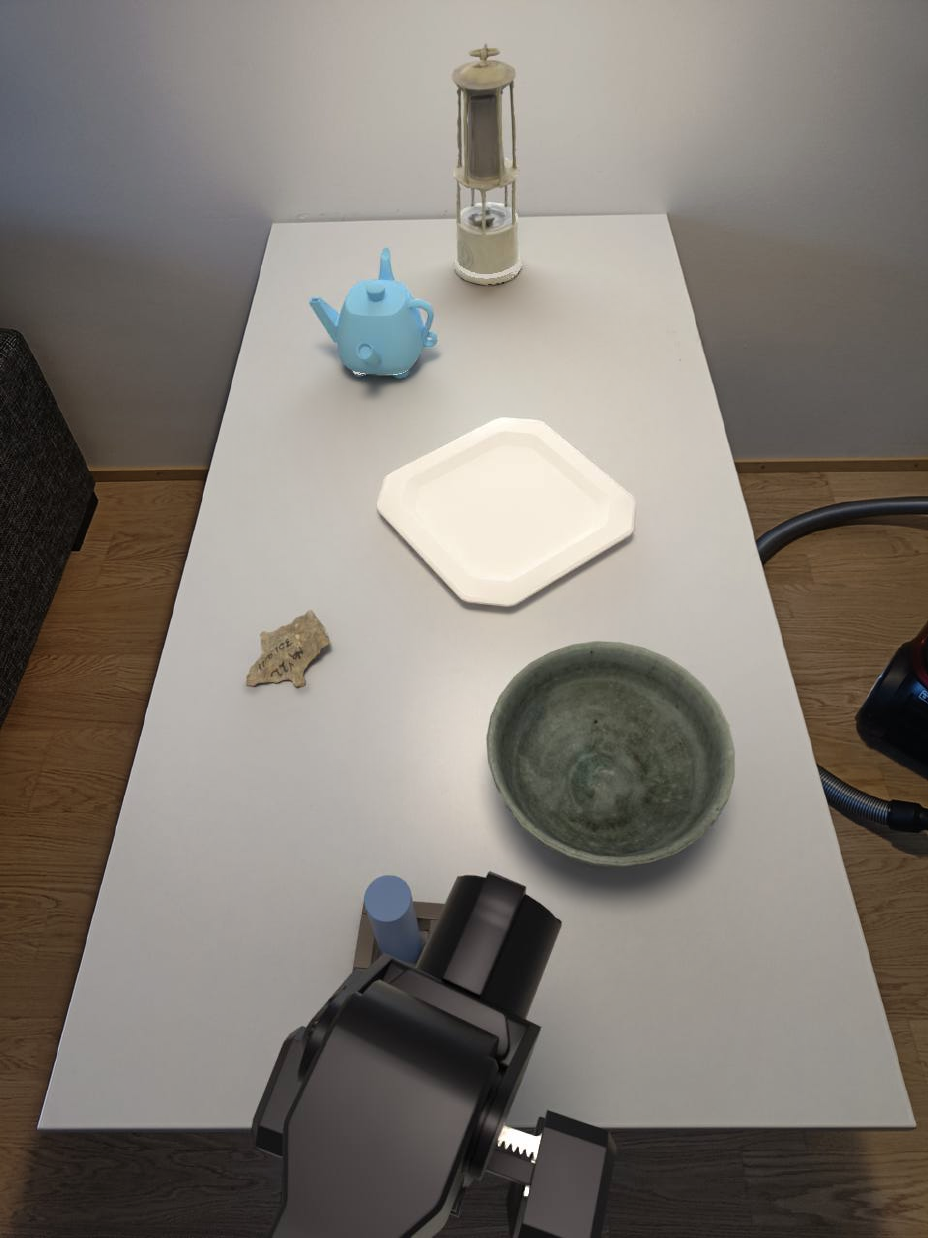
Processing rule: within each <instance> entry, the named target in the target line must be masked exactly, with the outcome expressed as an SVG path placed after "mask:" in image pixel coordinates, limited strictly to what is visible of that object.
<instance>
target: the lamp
mask: <svg viewBox="0 0 928 1238" xmlns="http://www.w3.org/2000/svg"><path fill="white" fill-rule="evenodd" d="M500 54H501V50H500V49H499V48H497V47H488V43H486V42H485V43H484V45H483V47H482V48H478V49H474V50H469V51H468V55H469V57H474V58H479V60H474V61H469V62H466V63H463V64H461V65H458V66H457V67H455V68H454V69H453V71H452V73H451V80H452V82H453V83H454V84H455V86H456V87H457V89H456V94H457V106H458V108H457V109H458V110H457V114H458V115H457V119H456V125H457V134H456V135H457V136H456V141H457V149H458V153H457V157H458V159H457V164H456V165H455V167H454V169H453V177H454V179H455V181H456V203H455V204H456V258H455V261H454V267H453V268H454V272H455V273H456V274H457V276H458V277H459V278H461V279H462V280H464V281H465V282H469V283H472V284H476V285H482V286H489V285H488V284H492V285H491V286H493V285H496V284H495V283H499V284H503V283H502V282H504V283H507V282H509V281H511V280H513V279H514V278H515V277H517V276H518V275H519V274H511V273H513V272H511V273H509V274H507V275H504V276H501V277H497V278H489V279H484V278H475V277H471V276H468V275H466V274H465V273H463V272H462V271H461V270H459V268H458V267H457V265H456V260H457V261H458V263H459V265H460V266H462V267H463V268H465V269H467V270H469V271H471V272H475V273H477V274H478V273H479V274H493V273H498V272H502V271H504V270H506V269H509V268H510V267H512V266H514V265H515V264H516V263H517V262H518V258H519V259H520V262H519V265H518V267H521V266H522V267H523V263H522V259H521V257H520V253H519V252H520V251H519V249H520V248H519V245H520V243H519V215H518V212H517V211H516V210H517V209H516V203H517V202H516V201H517V200H516V181H517V178H518V176H519V175H520V169H519V166H518V164H517V156H516V151H517V149H516V145H517V144H516V142H517V129H516V114H515V106H514V88H515V81H514V80H515V78H516V75H517V73H516V69H515V67H514V66H513V65H511V64H509V63H507V62H505V61H500V60H497V59H494V60H493V59H488V58H490V57H496V56H498V55H500ZM522 84H523V85H524V82H522ZM507 87H509V98H510V118H511V144H512V145H511V146H512V147H511V148H512V149H511V150H512V153H511V154H512V159H511V158H510V159H509V158H507V157H505V155H504V145H503V143H504V142H503V101H502V100H503V94H504V90H505V89H506V88H507ZM462 97H463V98H462ZM462 99H463V119H462ZM462 120H463V121H462ZM462 123H463V124H462ZM462 125H463V139H462ZM462 140H463V141H462ZM462 155H463V157H462ZM463 158H464V160H462V159H463ZM461 185H462V186H464V187H465V188H467V189H470V202H471V203H470V205H468V206H466V207H465V208H463V209H462V210H461V190H462V188H461V187H462V186H461ZM509 185H511V206H509ZM460 186H461V187H460ZM497 188H499V189H501V188H504V203H501V202H495V201H487V199H486V198H487V194H486V193H487V192H488V191H492V190H494V189H497ZM475 190H477V191H479V192H480V196H481V202H477V203H475V193H476V192H475ZM517 269H518V268H517ZM521 271H522V269H521V270H520V272H521ZM515 272H518V271H515ZM512 276H515V277H512ZM508 277H509V278H508ZM510 278H512V279H510Z"/></svg>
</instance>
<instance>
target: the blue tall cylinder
mask: <svg viewBox="0 0 928 1238" xmlns="http://www.w3.org/2000/svg"><path fill="white" fill-rule="evenodd" d="M413 901H414V900H413V895H412V890H411V888H410V886H409V884H408V883H407V882H406V881H405V880H404V879H402V878H401V877H399V876H397V875H392V874H387V875H382V876H379V877H377V878H375V879H373V881H371V882H370V884H369V885H368V886H367V887H366V890H365V892H364V896H363V903H364V905H365V908H366V911H367V914H368V917H369V920H370V923H371V926H372V929H373V932H374V935H375V938H376V941H377V944H378V946H379V952H380V956H381V955H382V954H384V953H385V954H388V955H390V956H392V957H394V958H396V959H398V960H402V961H405V962H409V963H412V964H415V965H416V964H417V962H418V960H419V958H420V956H421V953H422V951H423V949H424V946H423V942H422V938H421V934H420V930H419V928H418V923H417V918H416V914H415V909H414V904H413Z"/></svg>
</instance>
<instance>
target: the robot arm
mask: <svg viewBox="0 0 928 1238" xmlns="http://www.w3.org/2000/svg"><path fill="white" fill-rule="evenodd" d="M443 904H444V906H443V908H442V911H441V913H440V915H439V917H438V919H437V921H436V923H435V926H434V928H433V930H432V932H431V934H430V936H429V938H428V937H427V940H426V943H425V944H424V946H423V951H422V953H421V956H420V958H419V960H418V962H417V964H416V965H415V964H412V963H409V962H405V961H402V960H398V959H396V958H394V957H392V956H390V955H388V954H385V953H384V954H382V955H381V954H380V956H378V957H377V960H376V961H375V962H374V963H373V964H371V965H370V966H369V967H368V968H367V969H366V970H365V971H362V970H359V969H357V968H355V970H354V971H353V970H352V971H353V972H352V971H351V973H350V974H349V975H348V976H347V978H345V980H344V981H343V982H342V983H341V985H340V986H339V987H338V988H337V989H336V990H335V991H334V993H332V994H331V996H330V997H329V998H328V1000H327V1001H326V1002H325V1003H324V1004H323V1005H322V1006H321V1008H320V1009H319V1010H318V1011H317V1012H316V1013H315V1015H313V1017H311V1020H310V1021H309V1022H308V1024H307V1025H306V1026H305V1025H301V1026H299V1027H297V1028H296V1029H295V1030H293V1031H291V1032H290V1033H289V1034H288V1035H287V1037H286V1038H285V1039H284V1041H283V1042H282V1045H281V1047H280V1050H279V1052H278V1055H277V1057H276V1060H275V1062H274V1066H273V1068H272V1070H271V1072H270V1075H269V1077H268V1080H267V1082H266V1084H265V1087H264V1090H263V1092H262V1095H261V1098H260V1100H259V1103H258V1105H257V1108H256V1110H255V1113H254V1115H253V1118H252V1122H251V1128H250V1134H251V1135H250V1136H251V1139H252V1142H253V1146H254V1147H255V1148H256V1149H258V1150H260V1151H261V1152H264V1153H266V1154H269V1155H272V1156H275V1157H278V1158H280V1159H282V1174H281V1175H282V1186H281V1189H282V1191H281V1193H282V1194H281V1199H282V1200H281V1203H280V1205H279V1207H278V1210H277V1212H276V1214H275V1216H274V1218H273V1220H272V1223H271V1225H270V1227H269V1229H268V1232H267V1234H266V1236H265V1238H433V1237H434V1236H435V1235H437V1234H438V1233H439V1232H440V1231H441V1230H443V1228H444V1227H445V1225H446V1223H447V1222H448V1219H449V1217H450V1215H451V1216H454V1217H456V1218H460V1214H461V1210H462V1207H463V1203H464V1199H465V1195H466V1193H467V1188H468V1187H469V1186H470V1185H471V1184H472V1183H473V1181H474V1180H476V1181H479V1182H481V1181H482V1179H483V1177H484V1176H485V1172H486V1173H489V1174H491V1175H494V1176H497V1177H500V1178H503V1179H505V1180H509V1181H510V1182H509V1187H508V1191H507V1194H506V1199H505V1206H506V1214H507V1223H508V1233H509V1238H602V1236H603V1230H604V1225H605V1219H606V1214H607V1210H608V1209H607V1208H608V1203H609V1199H610V1192H611V1186H612V1180H613V1175H614V1171H615V1163H616V1158H617V1145H616V1142H615V1140H614V1139H613V1136H612V1134H611V1132H610V1130H608V1129H605V1128H602V1127H599V1126H596V1125H593V1124H590V1123H588V1122H585V1121H582V1120H578V1119H576V1118H572V1117H571V1116H570V1117H569V1116H567V1115H563V1114H560V1113H558V1112H554V1111H552V1110H549V1109H546V1112H545V1116H544V1117H543V1116H541V1115H540V1116H539V1117H538V1119H537V1122H536V1124H535V1127H534V1130H533V1133H532V1134H531V1133H527V1132H525V1131H521V1130H519V1129H516V1128H513V1127H510V1126H507V1125H505V1124H506V1122H507V1119H508V1116H509V1114H510V1112H511V1109H512V1106H513V1104H514V1102H515V1099H516V1096H517V1094H518V1091H519V1089H520V1087H521V1084H522V1081H523V1079H524V1076H525V1074H526V1071H527V1068H528V1066H529V1063H530V1060H531V1057H532V1054H533V1052H534V1049H535V1047H536V1044H537V1041H538V1040H539V1039H538V1038H539V1036H540V1033H541V1030H542V1026H541V1025H539V1024H537V1023H534V1022H532V1021H530V1020H528V1019H527V1017H528V1015H529V1012H530V1010H531V1007H532V1004H533V1002H534V999H535V996H536V994H537V992H538V989H539V986H540V983H541V981H542V978H543V976H544V973H545V971H546V968H547V965H548V963H549V960H550V957H551V955H552V953H553V950H554V947H555V944H556V941H557V939H558V937H559V933H560V931H561V929H562V926H563V921H562V920H561V919H560V918H558V917H556V915H554V913H552V912H551V910H550V909H548V908H547V907H545V906H544V905H543V904H542V903H541V902H539V901H538V900H536V899H534V898H533V897H532V896H530V895H529V894H527V885H524V884H521V883H519V882H517V881H515V880H512V879H509V878H507V877H506V876H502V875H500V874H498V873H495V872H493V871H488V872H487V874H486V875H485V876H480V875H476V874H475V875H474V874H464V875H457V877H456V878H455V881H454V883H453V885H452V887H451V890H450V891H449V894H448V896H447V898H446V899H445V902H444V903H443ZM503 1143H504V1150H506V1151H507V1150H508V1149H509V1147H510V1146H511V1152H512V1153H515V1152H516V1151H517V1148H518V1153H519V1155H520V1156H521V1157H519V1156H516V1155H513V1154H510V1153H507V1152H505V1151H501V1150H499V1149H496V1146H497V1147H498V1148H501V1146H502V1145H503ZM524 1151H525V1152H524Z"/></svg>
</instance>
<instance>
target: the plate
mask: <svg viewBox="0 0 928 1238" xmlns="http://www.w3.org/2000/svg"><path fill="white" fill-rule="evenodd" d="M381 483H382V484H381V487H380V491H379V494H378V497H377V501H376V503H375V506H376V511H377V512H378V513H379V514H380V515H381V516H382V517H383V518H384V519H385V520H386V522H387V523H388V524H389V525H390V526H391V527H392V528H393V529H394V530H395V531H396V532H397V533H398V535H400V537H402V538H403V540H404V541H405V542H406V543H407V544H408V545H409V546H410V547H411V548H412V549H413V550H414V551H415V552H416V553H417V554H418V556H419V557H421V558H422V560H423V561H424V562H425V563H426V564H427V565H428V566H429V568H430V569H432V570H433V572H434V573H435V574H436V575H437V576H438V577H439V578H440V579H441V580H442V582H444V583H445V585H447V586H448V587H449V589H450V590H451V591H453V593H454V594H455V595H456V596H457V597H458V598H459V599H460V600H462V601H464V602H466V603H468V604H469V603H471V604H480V605H488V606H489V605H490V606H497V607H509V608H510V607H513V606H517V605H518V604H520V603H522V602H523V601H525V600H526V599H528V598H530V597H531V596H533V595H535V594H537V593H538V592H539V591H541V590H542V589H544V588H546V587H548V586H549V585H551V584H553V583H554V582H556V581H557V580H560V579H561V578H563V577H564V576H566V575H567V574H570V573H571V572H572V571H574V570H576V569H577V568H579V567H581V566H583V565H585V564H586V563H588V562H590V560H592V559H594V558H596V557H597V556H599V555H601V554H602V553H604V552H606V551H607V550H609V549H610V548H612V547H614V546H616V545H617V544H618V543H620V542H622V541H623V540H625V539H627V538H628V537H631V536H632V534H633V533H634V531H635V524H636V523H635V521H636V506H637V504H636V503H637V501H636V499H635V497H634V495H632V494H631V493H630V492H629V491H628V490H626V489H625V488H624V487H622V486H621V485H620V484H619V483H617V481H615V480H614V479H613V478H612V477H611V476H609V475H608V474H607V473H606V472H604V471H603V470H602V469H601V468H600V467H598V466H597V465H596V464H595V463H593V462H592V461H591V460H590V459H588V458H587V457H586V456H585V455H584V454H583V453H581V452H580V451H579V450H578V449H576V448H575V447H574V446H573V445H572V444H571V443H570V442H568V441H567V440H566V439H565V438H563V437H562V436H561V435H560V434H558V433H557V432H556V431H555V430H554V429H552V427H550V426H549V425H547V424H546V422H544V421H542V420H539V419H529V418H518V417H516V418H515V417H505V416H503V417H497V418H495V419H493V420H491V421H488V422H487V423H486V424H483V425H481V426H479V427H477V428H475V429H473V430H472V431H469V432H467V433H466V434H464V435H462V436H460V437H458V438H456V439H454V440H452V441H449V442H448V443H446V444H444V445H442V446H440V447H438V448H436V449H434V450H432V451H430V452H429V453H426V454H424V455H423V456H421V457H418V458H416V459H414V460H412V461H411V462H409V463H407V464H405V465H403V466H401V467H399V468H397V469H395V470H393V471H391V472H389V473H387V475H385V476H384V478H383V480H382V482H381Z"/></svg>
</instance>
